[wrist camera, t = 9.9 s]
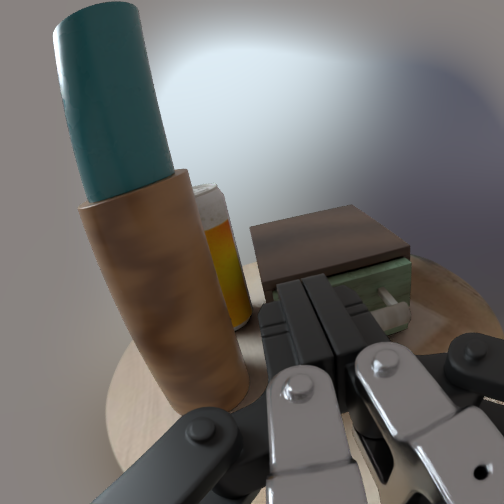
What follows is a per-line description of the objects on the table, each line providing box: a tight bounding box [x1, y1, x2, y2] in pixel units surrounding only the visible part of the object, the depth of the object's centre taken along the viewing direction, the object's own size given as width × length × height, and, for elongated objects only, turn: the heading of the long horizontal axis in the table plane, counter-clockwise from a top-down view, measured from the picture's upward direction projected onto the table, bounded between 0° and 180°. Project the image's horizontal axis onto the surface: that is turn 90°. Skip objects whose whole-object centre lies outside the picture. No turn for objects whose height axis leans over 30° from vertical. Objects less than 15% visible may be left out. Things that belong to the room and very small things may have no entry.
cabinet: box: [250, 205, 410, 303], centre depth 31 cm, size 14×13×9 cm
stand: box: [78, 169, 250, 416], centre depth 22 cm, size 8×8×18 cm
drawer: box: [272, 257, 412, 335], centre depth 27 cm, size 17×11×7 cm
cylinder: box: [53, 2, 175, 203], centre depth 16 cm, size 6×6×12 cm
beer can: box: [192, 183, 253, 331], centre depth 32 cm, size 6×6×15 cm
